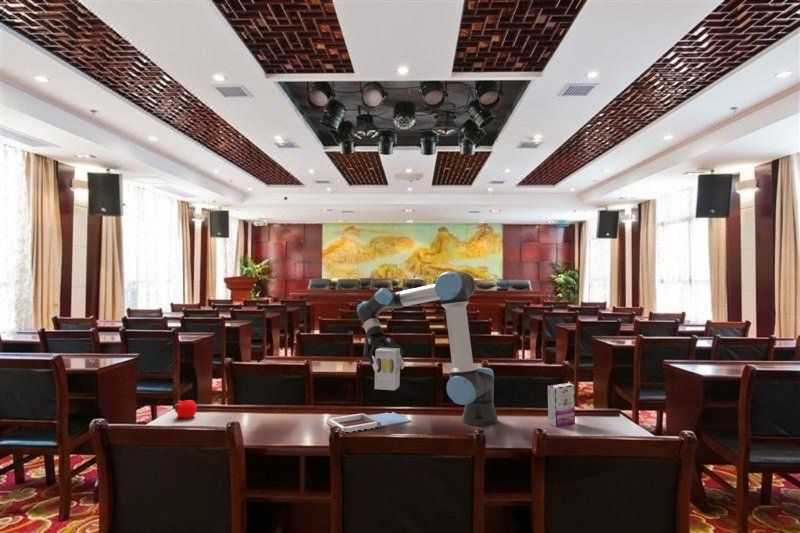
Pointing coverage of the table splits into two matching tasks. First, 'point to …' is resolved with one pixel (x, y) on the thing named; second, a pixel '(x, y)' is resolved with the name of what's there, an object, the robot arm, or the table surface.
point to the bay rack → (372, 420)
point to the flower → (186, 409)
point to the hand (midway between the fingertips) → (390, 368)
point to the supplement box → (387, 368)
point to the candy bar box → (561, 405)
